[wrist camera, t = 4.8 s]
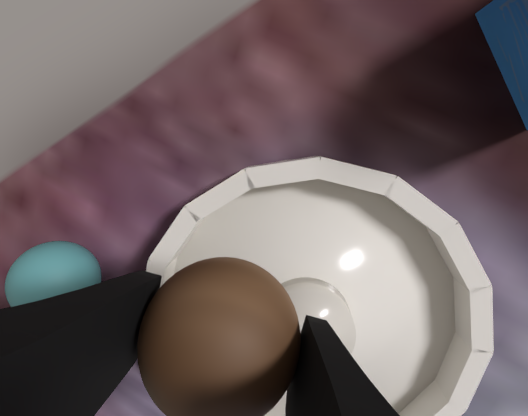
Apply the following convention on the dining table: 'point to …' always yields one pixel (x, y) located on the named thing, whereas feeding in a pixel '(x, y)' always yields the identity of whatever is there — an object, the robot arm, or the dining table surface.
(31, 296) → the teal bead
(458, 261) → the tray
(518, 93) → the perfume bottle
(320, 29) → the dining table surface
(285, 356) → the walnut bead
